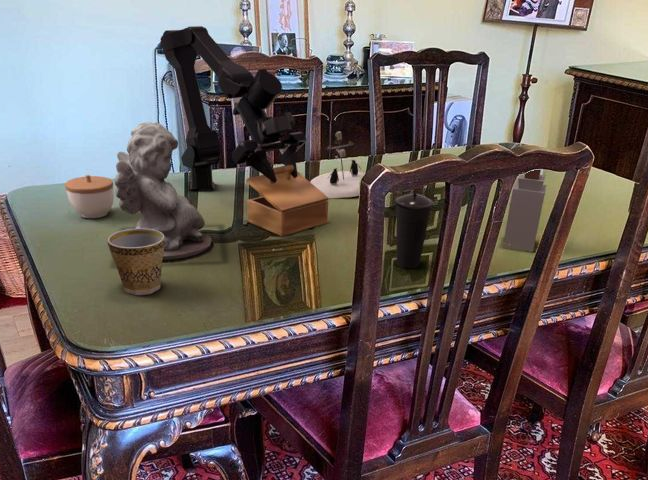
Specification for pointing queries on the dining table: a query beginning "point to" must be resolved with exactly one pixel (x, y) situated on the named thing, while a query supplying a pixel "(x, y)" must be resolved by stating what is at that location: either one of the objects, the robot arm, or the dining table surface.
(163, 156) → the angel statue
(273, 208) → the chest
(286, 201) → the lid
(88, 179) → the trinket box
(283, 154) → the robot arm
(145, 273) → the ceramic cup
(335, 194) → the figurine
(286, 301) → the dining table surface
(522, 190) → the perfume bottle
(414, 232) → the drinking cup
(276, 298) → the dining table surface
